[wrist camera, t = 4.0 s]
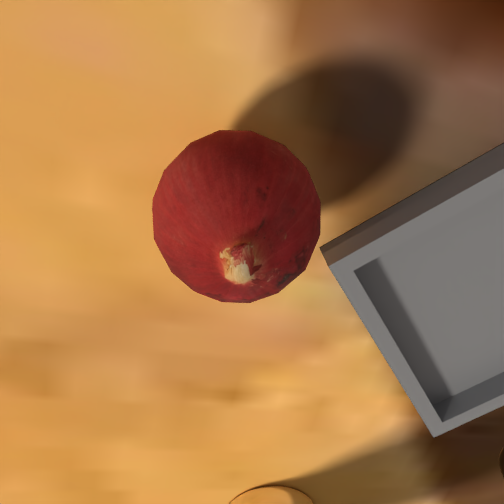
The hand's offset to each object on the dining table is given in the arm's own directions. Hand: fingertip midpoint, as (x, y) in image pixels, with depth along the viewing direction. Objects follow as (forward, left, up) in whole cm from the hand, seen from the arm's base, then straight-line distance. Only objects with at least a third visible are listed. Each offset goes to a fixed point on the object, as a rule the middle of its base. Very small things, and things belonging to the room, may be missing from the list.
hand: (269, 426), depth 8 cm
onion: (0, 0, -13) cm, 13 cm away
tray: (+11, +8, -13) cm, 19 cm away
